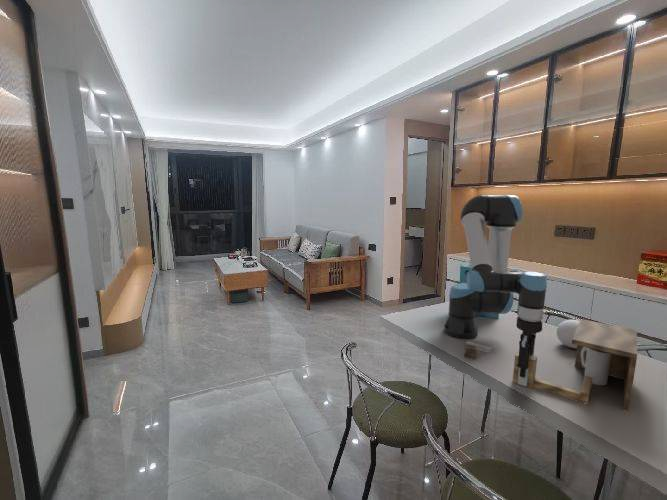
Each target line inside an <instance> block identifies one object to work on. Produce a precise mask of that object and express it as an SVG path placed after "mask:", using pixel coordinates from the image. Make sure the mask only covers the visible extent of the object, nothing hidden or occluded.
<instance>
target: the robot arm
mask: <svg viewBox="0 0 667 500" xmlns="http://www.w3.org/2000/svg"><path fill="white" fill-rule="evenodd" d="M459 216H460V224H461V226H462V227H463V229H464V234H465V239H466V244H467V250H468V251H467V252H468V257H469V258H468V259H469V263H470V264H469V265H471V271H469V272H468V273H467V283H460V282H459V283H457V284H453V285H451V287H450V289H449V295H448V296H449V297H448V298H449V299H448V300H449V301H448V315H447V318H446V320H445V323H444V326H443V332H444V333H445V334H446V335H448V336H450V337H453V338H457V339H464V340H466V339H467V340H468V339H469V340H470V339H471V340H472V339H475V338H477V336H479V335H478V333H479V329H478V326H477V323H476V322H477V321H476V319H475V317H476V316H475V313H492V314H499V315H506V314H508V313H509V312H510V311H511V310H512V308H513V305H514V301H515V300H514V294H517V295H518V303H517V311H516V312H517V313H516V314H517V317H516V328H517V329H518V330H521V331H522V333H520V339H519V342H518V343H519V345H518V346H519V349H518V351H519V358H518V364H517V366H518V367H519V373H518V383H517V385H520V386H523V387H527V379H528V361H529V354H530V355H534V353H535V345H536V344H535V343H536V338H537V337H536V336H537V334H538V333H541V332H542V331H543V319H544V315H545V314H547V313H546V311H545V310H544V309H545V304H546V303H545V301H546V300H545V299H546V292H547V287H548V285H547V276H546V275H545V274H544V273H540V272H537V271H523V270H520V269H519V270H518V269H515V270H511V271H508V267H509V258H510V257H509V256H510V255H509V254H510V246H511V237H512V236H511V235H512V230H513V229H514V228H515V227H516V225H517V223H520V222H521V220H522V217H523V204H522V202H521V200H520V198H519V197H518V196H517V195H513V194H512V195H511V194H490V195H489V194H485V195H484V194H480V195H477V196H473V197H472V198H470V199H469V200H468V201H467V202H465V204H464V205H463V206H462V209H461V212H460V215H459ZM485 222H486V223H485ZM484 223H485V224H486V227H487V228H488V229H489V231H488V232H489V234H488V235H489V236H488V239H487V235H486V234H487V233H486V230H485V225H484Z"/></svg>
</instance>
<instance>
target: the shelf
mask: <svg viewBox="0 0 667 500" xmlns="http://www.w3.org/2000/svg"><path fill="white" fill-rule="evenodd" d="M579 321H580V322H579V324H578V327H577V329H576V332H575V334H574V337H573V339H572V344H575V345H577V348H576V353H575V361H574V367H577V368H581V369H584V370H585V367H584V366H582V361H581V351H582V349H583V347H588V348H592V349H596V350H600V351H605V352H609V353H612V355H611V361H610V367H609V373H608V376H609V377H614V378H617V379H622V380H624V386H623V388H624V389H623V411H625V412H629V410H630V404H631V398H632V397H631V396H632V393H633V392H632V391H633V384H634V378H635V371H636V367H637V360H638V359H637V358H638V329H633V328H628V327H624V326H623V327H622V326H618V325H614V324H608V323H603V322H599V321H597V322H596V321H593V320H588V319H582V318H580V319H579ZM586 354H587V350H586V351H585V353H584V358H585V361H586Z"/></svg>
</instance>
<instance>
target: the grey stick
mask: <svg viewBox="0 0 667 500" xmlns="http://www.w3.org/2000/svg"><path fill="white" fill-rule="evenodd" d="M466 344H468V345H473V346H477V347H476V351H477V350H478V351H481V352H485V353H487V354H490V353H491V352H492V347H489V346H486V345H483V344H481V343H477V342H472V341H470V340H466V341H465V347H466Z"/></svg>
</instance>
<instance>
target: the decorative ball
mask: <svg viewBox="0 0 667 500" xmlns="http://www.w3.org/2000/svg"><path fill="white" fill-rule="evenodd" d="M579 322H580V320H578V319H566V320H564V321H562V322H560V323H559V324H558V325H557V328H556V336H557V339H558V340H559V342H561V344H562V345H564V346H566V347H568V348H569V349H570V348H571V349H577V345H575V344H572V339H573V337H574V334H575V332H576V329H577V327H578V324H579Z"/></svg>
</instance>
